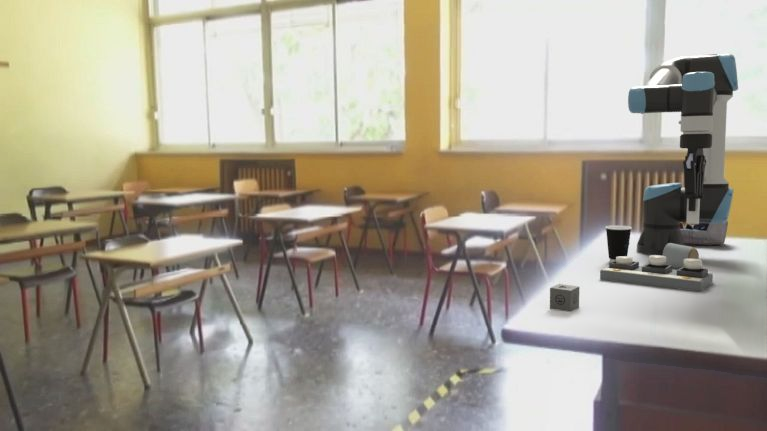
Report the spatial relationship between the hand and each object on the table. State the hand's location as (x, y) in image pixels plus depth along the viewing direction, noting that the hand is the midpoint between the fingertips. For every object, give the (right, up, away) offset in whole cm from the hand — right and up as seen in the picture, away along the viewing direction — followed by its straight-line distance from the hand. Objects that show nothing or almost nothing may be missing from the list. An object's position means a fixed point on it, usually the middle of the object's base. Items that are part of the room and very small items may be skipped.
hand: (692, 223), depth 170 cm
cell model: (+33, -9, +65) cm, 73 cm away
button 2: (+1, -12, +1) cm, 12 cm away
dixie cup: (-7, -13, +35) cm, 38 cm away
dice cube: (-39, -20, -19) cm, 48 cm away
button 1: (-13, -12, +13) cm, 22 cm away
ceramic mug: (+7, -14, +21) cm, 27 cm away
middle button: (-6, -11, +7) cm, 15 cm away
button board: (-7, -16, +6) cm, 19 cm away
